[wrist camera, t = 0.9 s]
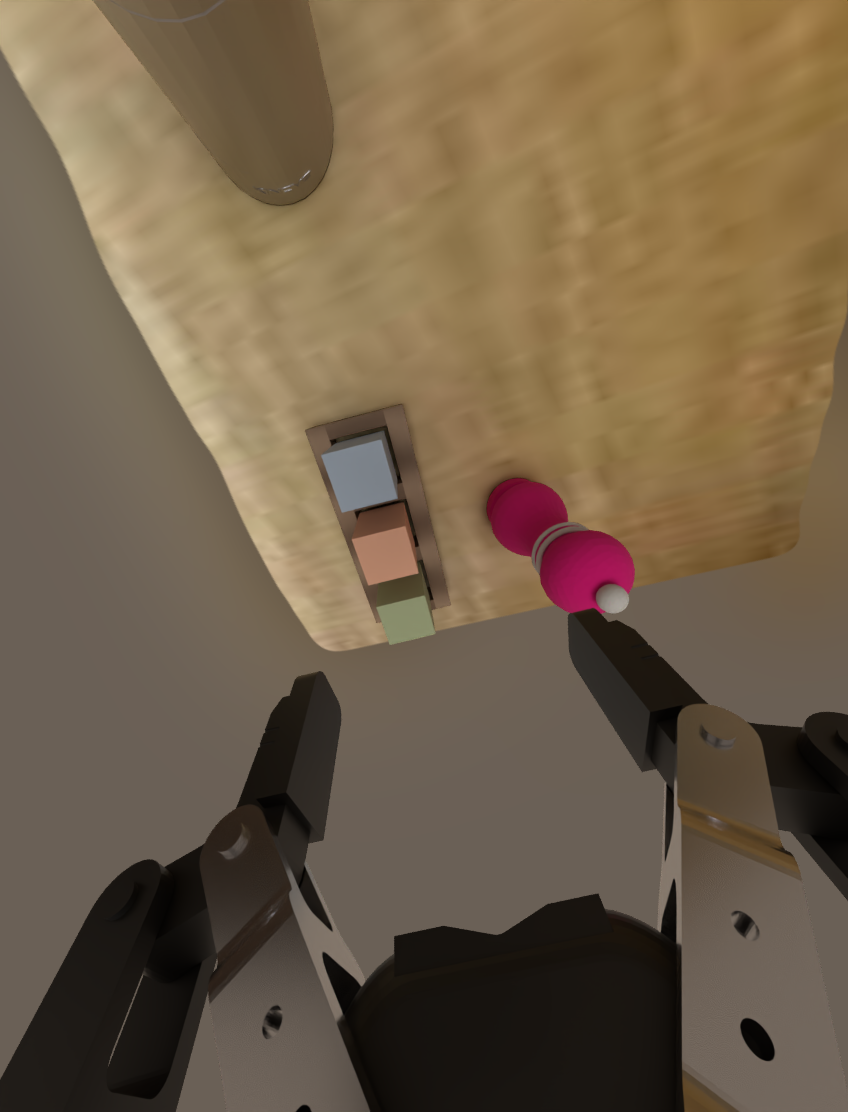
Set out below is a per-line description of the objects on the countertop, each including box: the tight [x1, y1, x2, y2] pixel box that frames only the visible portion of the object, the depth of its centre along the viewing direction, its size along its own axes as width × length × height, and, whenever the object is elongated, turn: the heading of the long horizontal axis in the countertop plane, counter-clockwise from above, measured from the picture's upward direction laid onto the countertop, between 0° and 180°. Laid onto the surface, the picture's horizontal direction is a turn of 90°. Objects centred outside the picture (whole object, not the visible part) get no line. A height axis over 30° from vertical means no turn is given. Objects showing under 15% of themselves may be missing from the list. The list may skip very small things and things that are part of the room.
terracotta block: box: [352, 502, 418, 586], centre depth 32 cm, size 5×5×7 cm
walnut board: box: [305, 404, 451, 623], centre depth 36 cm, size 22×9×3 cm, turn 13°
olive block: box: [376, 561, 435, 645], centre depth 35 cm, size 5×5×7 cm
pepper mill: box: [487, 478, 635, 614], centre depth 29 cm, size 7×7×20 cm
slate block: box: [321, 430, 398, 513], centre depth 29 cm, size 5×5×7 cm
